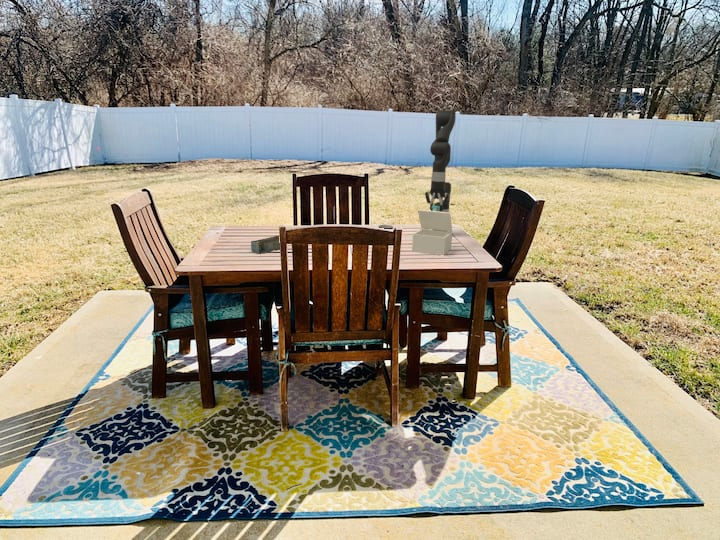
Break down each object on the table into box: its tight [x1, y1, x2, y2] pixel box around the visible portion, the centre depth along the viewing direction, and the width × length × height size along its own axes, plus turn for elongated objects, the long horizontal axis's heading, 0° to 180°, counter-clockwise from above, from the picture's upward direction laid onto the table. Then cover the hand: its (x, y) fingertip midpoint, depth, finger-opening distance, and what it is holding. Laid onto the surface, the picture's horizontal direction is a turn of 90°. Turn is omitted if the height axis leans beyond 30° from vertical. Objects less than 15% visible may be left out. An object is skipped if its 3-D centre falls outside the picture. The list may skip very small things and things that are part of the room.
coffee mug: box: [377, 224, 394, 230], centre depth 292 cm, size 12×9×10 cm
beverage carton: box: [250, 235, 281, 255], centre depth 276 cm, size 8×19×7 cm, turn 137°
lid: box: [417, 205, 453, 233], centre depth 280 cm, size 15×18×6 cm
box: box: [411, 228, 453, 256], centre depth 279 cm, size 15×18×10 cm
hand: (436, 211), depth 278 cm, fingers closed on lid, 4 cm apart
